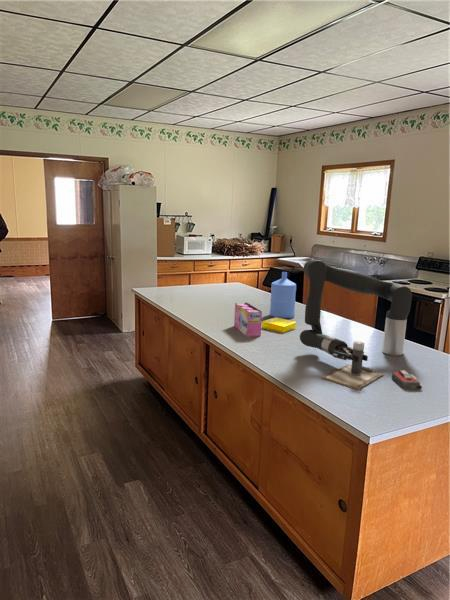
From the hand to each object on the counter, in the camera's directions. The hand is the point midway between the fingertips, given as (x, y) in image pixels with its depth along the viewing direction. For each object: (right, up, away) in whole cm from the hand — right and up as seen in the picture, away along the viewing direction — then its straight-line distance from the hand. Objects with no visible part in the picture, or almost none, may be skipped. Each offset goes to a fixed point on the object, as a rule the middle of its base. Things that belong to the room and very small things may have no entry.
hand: (362, 359), depth 174 cm
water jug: (-19, +13, +104) cm, 107 cm away
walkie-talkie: (+17, -9, +2) cm, 20 cm away
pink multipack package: (-43, +6, +66) cm, 79 cm away
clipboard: (-3, -8, +3) cm, 9 cm away
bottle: (-1, -7, +4) cm, 8 cm away
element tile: (-24, +7, +74) cm, 78 cm away
